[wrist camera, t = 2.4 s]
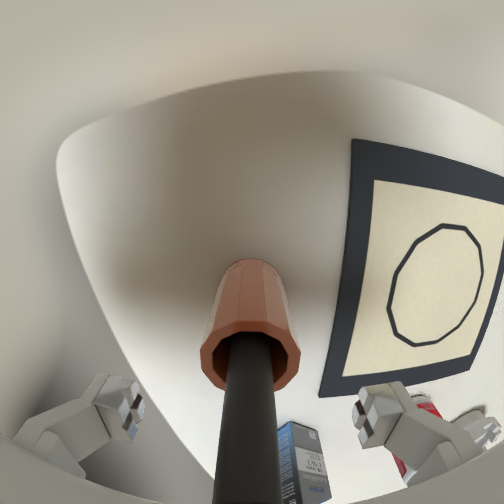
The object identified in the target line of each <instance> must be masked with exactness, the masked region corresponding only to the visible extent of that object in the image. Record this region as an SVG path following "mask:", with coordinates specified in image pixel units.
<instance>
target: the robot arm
mask: <svg viewBox="0 0 504 504" xmlns="http://www.w3.org/2000/svg"><path fill="white" fill-rule="evenodd" d="M139 390H140V387H139V384H138V382H137V381H135V380H130V379H125V378H121V377H117V376H112V375H108V374H104V373H98V374H96V376H95V377H94V378H93V380H92V381H91V383H90V384H89V386H88V387H87V389H86V390H85V391H84V393H83V394H82V396H81V397H80V399H79V400H78V399H74V400H71V401H69V402H67V403H65V404H62V405H60V406H58V407H56V408H53V409H51V410H49V411H46V412H44V413H41V414H39V415H37V416H34V417H32V418H30V419H28V420H27V421H26V422H25V424H24V425H23V426H22V428H21V429H20V431H19V432H18V433H17V435H16V436H15V437H14V439H13V440H12V441H11V440H10V439H8V438H7V437H5V436H4V435H2V434H1V433H0V504H165V503H161V502H156V501H152V500H147V499H143V498H139V497H135V496H132V495H129V494H125V493H122V492H118V491H116V490H113V489H110V488H107V487H104V486H101V485H98V484H96V483H93V482H90V481H88V480H85V477H86V474H85V472H84V470H83V469H82V468H81V467H80V465H79V464H78V462H79V461H81V460H82V459H84V458H85V457H87V456H88V455H89V454H91V453H92V452H94V451H95V450H96V449H98V448H99V447H101V446H102V445H104V444H105V443H106V442H108V441H109V440H110V439H111V438H114V439H118V440H122V441H126V442H131V443H132V442H133V440H134V437H135V435H136V433H137V430H138V429H137V427H136V424H137V423H139V422H140V421H141V420H142V417H143V415H144V401H143V398H142V397H141V395H140V394H139V393H138V392H139ZM358 396H359V400H358V401H357V402H356V403H355V404H354V407H353V412H352V418H353V423H354V426H355V427H356V428H357V429H359V430H360V432H359V435H358V437H359V440H360V443H361V446H362V449H366V448H372V447H377V446H382V445H384V447H385V448H387V449H388V450H389V451H390V452H392V453H393V454H394V455H395V456H397V457H398V458H399V459H400V460H402V461H403V462H404V463H405V464H407V465H408V466H409V467H410V468H412V469H413V470H414V471H416V472H415V473H414V475H413V476H412V477H411V478H410V479H409V480H408V482H407V486H408V488H405V489H402V490H399V491H396V492H393V493H389V494H386V495H382V496H379V497H375V498H371V499H367V500H363V501H359V502H354V503H350V504H504V440H503V441H501V442H500V443H498V444H496V445H495V446H493V447H492V448H490V449H488V450H487V451H485V452H483V453H482V452H481V451H480V449H479V447H478V446H477V444H476V443H475V441H474V440H473V438H472V437H471V435H470V434H469V432H468V431H466V430H464V429H462V428H460V427H458V426H456V425H454V424H452V423H450V422H448V421H446V420H444V419H442V418H440V417H438V416H436V415H434V414H432V413H430V412H428V411H426V410H424V409H422V408H420V409H418V408H417V406H416V404H415V403H414V401H413V400H412V398H411V396H410V395H409V393H408V392H407V390H406V389H405V387H404V385H403V384H402V383H401V382H400V381H397V382H391V383H387V384H379V385H373V386H366V387H362V388H361V389H360V391H359V393H358Z"/></svg>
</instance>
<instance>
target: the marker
mask: <svg viewBox="0 0 504 504" xmlns="http://www.w3.org/2000/svg"><path fill="white" fill-rule="evenodd" d="M212 504H283V494H282V481H281V468H280V456H279V444H278V432H277V420H276V408H275V397H274V385H273V374H272V363H271V352H270V342H269V335H267V334H265V333H263V332H248V331H240V332H237V333H235V334H233V335H232V339H231V347H230V355H229V363H228V371H227V379H226V387H225V396H224V404H223V412H222V421H221V429H220V438H219V446H218V455H217V464H216V472H215V481H214V490H213V499H212Z"/></svg>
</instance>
